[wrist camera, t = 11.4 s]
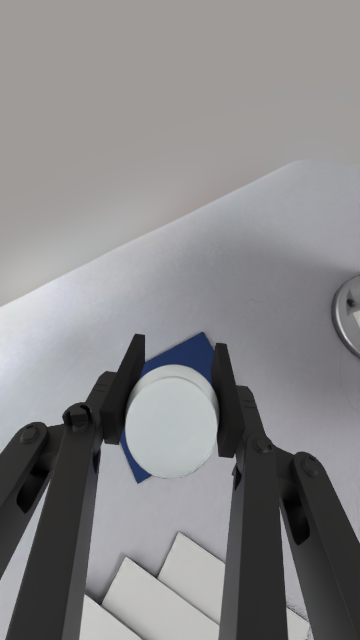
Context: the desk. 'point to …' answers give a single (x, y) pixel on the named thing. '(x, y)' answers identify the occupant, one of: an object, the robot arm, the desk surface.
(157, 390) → the pill bottle
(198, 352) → the cloth
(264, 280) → the desk surface
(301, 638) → the paper stack
